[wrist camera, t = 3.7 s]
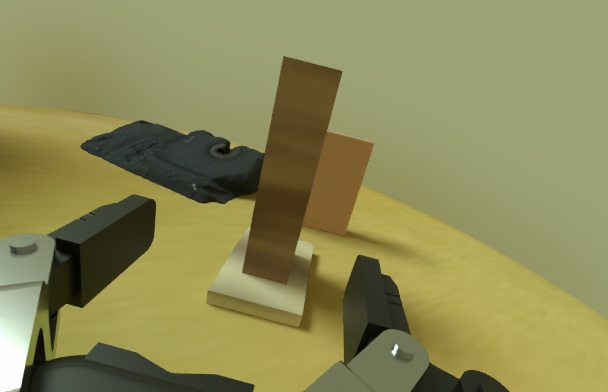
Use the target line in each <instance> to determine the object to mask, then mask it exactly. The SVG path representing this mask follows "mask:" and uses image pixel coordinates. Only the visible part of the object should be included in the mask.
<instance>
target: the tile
mask: <svg viewBox="0 0 608 392" xmlns="http://www.w3.org/2000/svg"><path fill="white" fill-rule="evenodd" d="M373 145H374V142H373V141H372V140H368V139H365V138H361V137H357V136H353V135H349V134H345V133H341V132H337V131H333V130H330V129H327V132H326V136H325V140H324V144H323V148H322V152H321V155H320V159H319V163H318V167H317V171H316V175H315V178H314V182H313V186H312V190H311V194H310V197H309V201H308V205H307V209H306V213H305V217H304V220H303V224H302V226H306V227H310V228H314V229H317V230H321V231H325V232H329V233H333V234H336V235H340V236H345V233H346V229H347V226H348V223H349V220H350V217H351V214H352V211H353V208H354V205H355V202H356V198H357V195H358V192H359V189H360V186H361V183H362V180H363V177H364V174H365V171H366V167H367V164H368V161H369V158H370V155H371V152H372V148H373Z"/></svg>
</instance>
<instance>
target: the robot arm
mask: <svg viewBox="0 0 608 392" xmlns="http://www.w3.org/2000/svg"><path fill="white" fill-rule="evenodd" d="M155 214H156V203H155V201H154V200H153V199H150V198H146V197H142V196H138V195H131V196H129V197H127V198H125V199H124V200H122V201H120V202H118V203H113V204H109V205H105V206H101V207H99V208H97V209H95V210H93V211H91V212H90V213H89V214H86V215H84V216H82V217H80V218H79V220H78V219H76V220H74V221H73V222H71V223H69V224H67V225H65V226H63V227H61V228H59V229H58V230H56V231H54V232H52V233H50V234H48V235H43V234H20V235H14V236H10V237H7V238H4V239H1V240H0V392H253V389H254V385H253V384H249V383H245V382H242V381H238V380H235V379H231V378H227V377H224V376H220V375H216V374H179V373H170V372H168V371H166V370H164V369H163V368H161V367H159V366H158V365H156V364H154V363H153V362H151V361H149V360H148V359H146V358H145V357H143V356H141V355H140V354H138V353H136V352H132V351H129V350H125V349H121V348H118V347H114V346H110V345H107V344H103V343H99V342H98V343H97V345H96V346H95V347H94V348H93V349H92V350H91V351H90V352H89V353H88V354H87V355H76V356H67V357H61V358H56V359H55V355H56V347H57V339H58V331H59V323H60V308H61V307H63V306H64V305H65V304H69V305H73V306H77V307H80V308H83V307H84V306H85V305H86V304H87V303H89V302H90V301H91V300H92V299H93V298H94V297H95V296H96V295H98V294H99V293H100V292H101V291H102V290H103V289H104V288H105V287H107V286H108V285H109V284H110V283H111V282H112V281H113V280H114V279H116V278H117V277H118V276H119V275H120V274H121V273H122V272H123V271H125V270H126V269H127V268H128V267H129V266H130V265H131V264H132V263H134V262H135V261H136V260H137V259H138V258H139V257H140V256H141V255H143V254H144V253H145V252H146V251H147V250H148V249H149V247H150V246H151V244H152V241H153V238H154V229H155ZM343 324H344V363H343V362H342V361H339V362H337V363H336V364H334V365H333V366H332V367H331V368H330V369H329V370H327V371H326V372H325V373H324V374H323V375H322V376H320V377H319V378H318V379H317V380H316V381H315V382H314V383H312V384H311V385H310V386H309V387H308V388H307V389H306V390H304V391H303V392H509V391H508V390H507V389H506V388H505V387H504V386H503V385H502V384H501V383H500V382H498V381H497V380H495V379H494V378H492V377H491V376H489V375H487V374H485V373H483V372H480V371H476V370H468V371H465V372H464V373H463V374H462V376H461V378H460V379H458V378H456V377H455V376H453V375H451V374H449V373H447V372H445V371H443V370H441V369H440V368H438V367H436V366H434V365H433V364H432V363H430V362H429V356H428V354H427V351H426V350H425V348H424V347H423V346H422V344H421V343H420V342H419V341H418V340H416V339H415V338H414V337H412V336H411V334H410V331H409V327H408V323H407V320H406V316H405V313H404V309H403V307H402V302H401V298H400V295H399V291H398V287H397V285H396V284H395V283H394V281H393V280H392V279H391V278H390V276H387V275H383V274H381V269H380V264H379V260H378V259H374V258H370V257H366V256H363V255H358V256H357V258H356V261H355V264H354V267H353V269H352V272H351V275H350V278H349V281H348V284H347V286H346V290H345V294H344V300H343Z"/></svg>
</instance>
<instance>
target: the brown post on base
mask: <svg viewBox="0 0 608 392" xmlns="http://www.w3.org/2000/svg"><path fill="white" fill-rule="evenodd" d="M341 75H342V71H340V70H336V69H332V68H328V67H324V66H321V65H316V64H312V63H308V62H304V61H301V60H297V59H293V58H288V57H285V56H284V57H283V62H282V67H281V73H280V78H279V83H278V88H277V93H276V98H275V103H274V109H273V114H272V119H271V125H270V129H269V135H268V140H267V145H266V150H265V155H264V160H263V166H262V171H261V176H260V181H259V186H258V192H257V197H256V202H255V207H254V212H253V217H252V223H251V227H249V226H248V227H247V229H246V231H245V232H244V234H243V235H242V237H241V239H240V240H239V242H238V243H237V245H236V246H235V248H234V250H233V251H232V253H231V254H230V256H229V258H228V259H227V261H226V262H225V264H224V266H223V267H222V269H221V270H220V272H219V274H218V275H217V277H216V278H215V280H214V281H213V283H212V285H211V286H210V288H209V289H208V293H207V300H206V303H208V304H212V305H216V306H219V307H223V308H227V309H231V310H234V311H238V312H242V313H246V314H249V315H253V316H257V317H260V318H264V319H268V320H272V321H275V322H279V323H283V324H286V325H290V326H294V327H298V328H299V325H300V322H301V318H302V314H303V308H304V302H305V296H306V289H307V283H308V277H309V270H310V264H311V258H312V252H313V245H314V244H313V243H309V242H305V241H302V240H299V236H300V232H301V228H302V224H303V220H304V217H305V213H306V209H307V205H308V201H309V197H310V194H311V190H312V186H313V182H314V178H315V175H316V171H317V167H318V163H319V159H320V155H321V152H322V148H323V144H324V140H325V136H326V132H327V129H328V125H329V121H330V117H331V113H332V110H333V106H334V102H335V98H336V94H337V90H338V87H339V83H340V79H341Z"/></svg>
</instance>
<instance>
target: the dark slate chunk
mask: <svg viewBox="0 0 608 392" xmlns="http://www.w3.org/2000/svg"><path fill="white" fill-rule="evenodd" d="M80 147H81V148H82V149H84V150H86V151H87V152H88V153H90V154H92V155H95V156H98V157H101V158H103V159H104V160H106V161H108V162H110V163H112V164H115V165H117V166H118V167H121V168H123V169H125V170H126V171H129V172H131V173H133V174H136V175H138V176H142V177H143V178H145V179H147V180H149V181H151V182H154V183H156V184H159V185H161V186H163V187H165V188H168V189H170V190H172V191H174V192H176V193H179V194H181V195H183V196H185V197H187V198H190V199H192V200H195V201H197V202H199V203H206V202H208V201H212V202H217V203H221V204H225V203H227V202H228V201H230V200H232V199H234V198H236V197H238V196H241V195H246V194H251V193H254V192H256V191H258V186H259V181H260V176H261V171H262V166H263V160H264V155H265V153H260V152H259V151H257V150H255V149H250V148H248V147H246V146H238V147H235V148H233V149H232V150H231V149H230V142H229V141H228V140H226V139H224V138H221V137H215V136H213V135H212V134H211V133H209V132H206V131H204V130H200V131H194V132H191V133H189V134H188V135H185V134H182V133H179V132H178V131H175V130H172V129H170V128H167V127H164V126H162V125H159V124H153V123H149V122H147V121H143V120H141V121H136V122H133V123H131V124H127V125H125V126H122V127H119V128H117V129H115V130H114V131H112V132H110V133H105V134H102V135H98V136H95V137H93V138H91V139H90V140H87V141H86V142H84V143H83V144H81V146H80Z"/></svg>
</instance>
